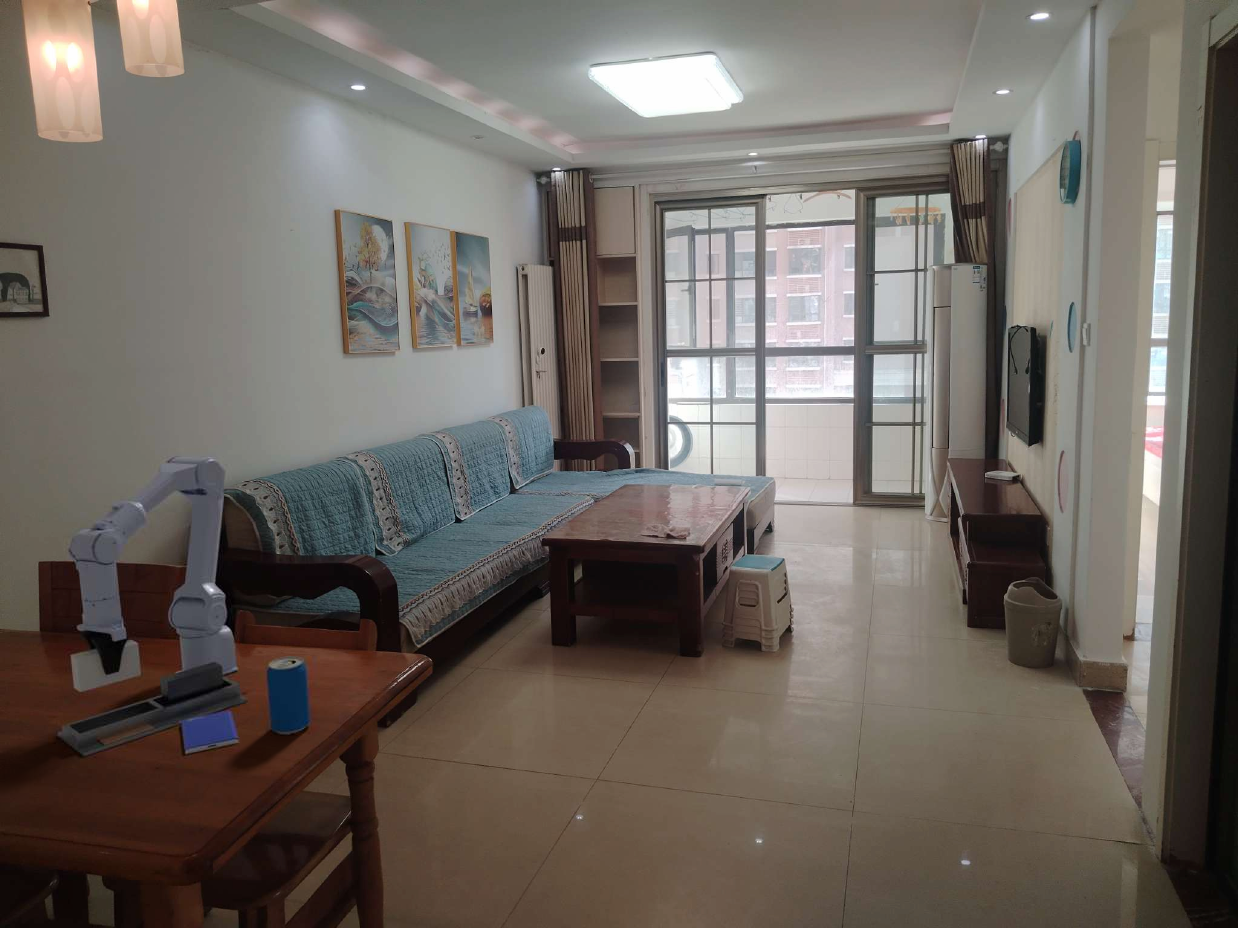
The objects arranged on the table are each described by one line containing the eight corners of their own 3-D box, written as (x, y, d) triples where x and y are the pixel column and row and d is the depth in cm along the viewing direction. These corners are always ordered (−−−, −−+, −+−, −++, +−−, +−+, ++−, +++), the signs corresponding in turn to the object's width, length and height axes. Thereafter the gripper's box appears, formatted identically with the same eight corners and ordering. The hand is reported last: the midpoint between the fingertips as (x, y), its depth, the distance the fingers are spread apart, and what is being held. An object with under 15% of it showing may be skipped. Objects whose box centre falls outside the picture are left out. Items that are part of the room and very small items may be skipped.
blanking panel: (134, 671, 166) (131, 639, 165) (141, 674, 164) (137, 643, 163) (74, 687, 159) (70, 654, 158) (80, 691, 157) (76, 658, 156)
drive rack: (217, 685, 177) (214, 653, 176) (247, 701, 169) (245, 667, 168) (57, 735, 156) (53, 699, 155) (84, 756, 148) (80, 718, 147)
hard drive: (180, 719, 160) (184, 748, 149) (231, 709, 163) (238, 736, 152) (181, 728, 160) (185, 757, 149) (231, 718, 164) (239, 745, 153)
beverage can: (318, 722, 160) (313, 657, 158) (294, 738, 154) (289, 671, 152) (288, 718, 162) (283, 653, 160) (262, 733, 156) (257, 666, 154)
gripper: (60, 594, 161) (68, 667, 163) (91, 610, 152) (99, 687, 154) (103, 585, 166) (110, 656, 168) (135, 600, 157) (143, 675, 159)
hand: (108, 670), depth 161 cm, fingers closed on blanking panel, 3 cm apart
